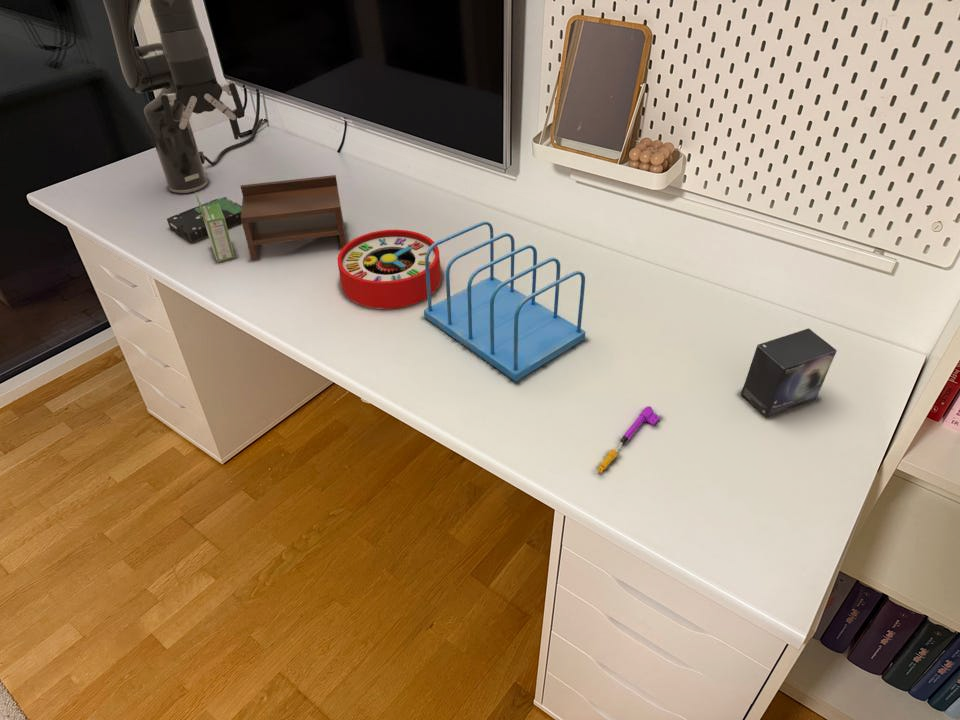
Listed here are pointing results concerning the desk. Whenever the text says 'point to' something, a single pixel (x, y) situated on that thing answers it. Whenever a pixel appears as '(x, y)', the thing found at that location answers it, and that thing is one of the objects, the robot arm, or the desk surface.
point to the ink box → (217, 231)
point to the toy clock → (388, 269)
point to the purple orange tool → (630, 434)
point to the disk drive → (193, 222)
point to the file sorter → (504, 314)
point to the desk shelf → (291, 211)
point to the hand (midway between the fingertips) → (214, 142)
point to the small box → (787, 372)
